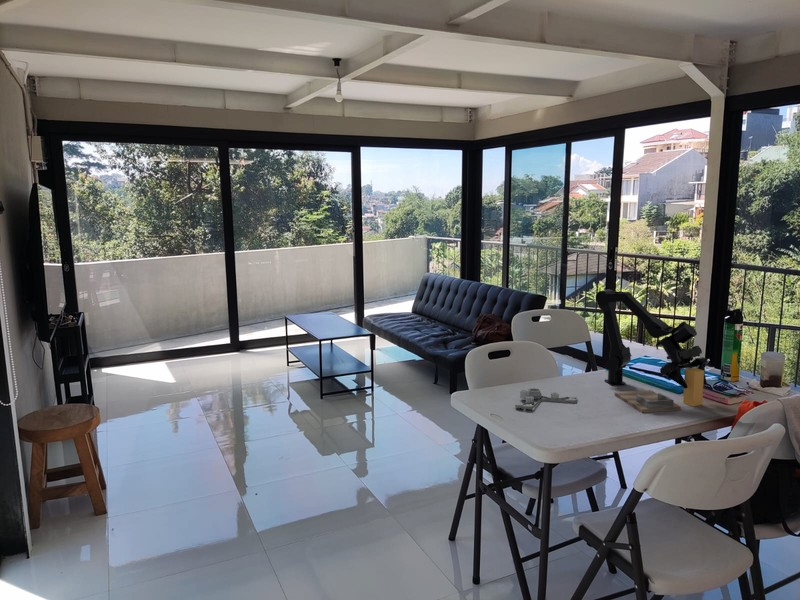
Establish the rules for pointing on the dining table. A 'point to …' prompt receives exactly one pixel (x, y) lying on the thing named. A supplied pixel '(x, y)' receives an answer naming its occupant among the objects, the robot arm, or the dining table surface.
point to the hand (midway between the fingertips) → (696, 386)
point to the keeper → (647, 401)
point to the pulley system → (536, 394)
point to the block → (693, 387)
